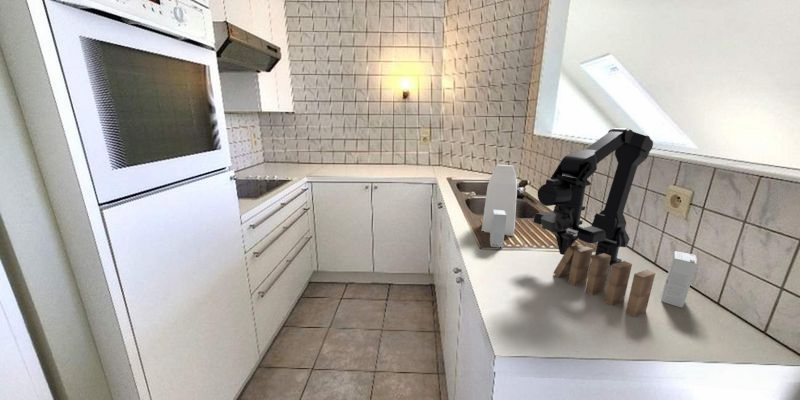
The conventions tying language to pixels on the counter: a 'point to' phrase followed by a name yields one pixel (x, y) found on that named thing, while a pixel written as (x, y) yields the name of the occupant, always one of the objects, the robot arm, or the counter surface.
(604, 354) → the counter surface
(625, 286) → the domino
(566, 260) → the domino
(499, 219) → the skincare box
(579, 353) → the counter surface
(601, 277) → the domino
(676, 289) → the skincare box
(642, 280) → the domino
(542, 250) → the counter surface
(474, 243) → the counter surface
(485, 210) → the milk
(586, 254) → the domino
